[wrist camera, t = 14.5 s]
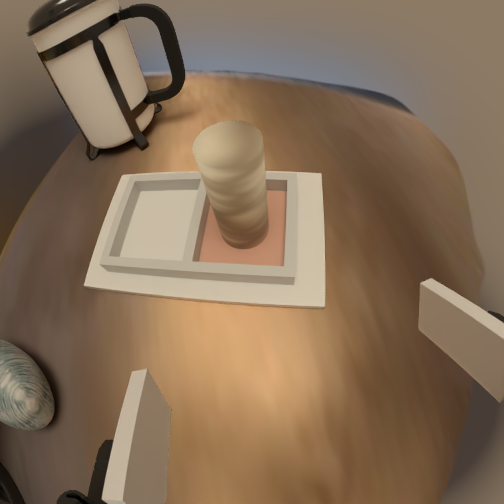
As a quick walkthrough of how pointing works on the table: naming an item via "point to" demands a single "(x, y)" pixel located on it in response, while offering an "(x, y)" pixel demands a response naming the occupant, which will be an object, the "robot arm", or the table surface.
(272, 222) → the white flat tray
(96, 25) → the coffee press
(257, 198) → the peg
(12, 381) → the yarn ball
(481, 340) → the robot arm
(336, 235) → the table surface
